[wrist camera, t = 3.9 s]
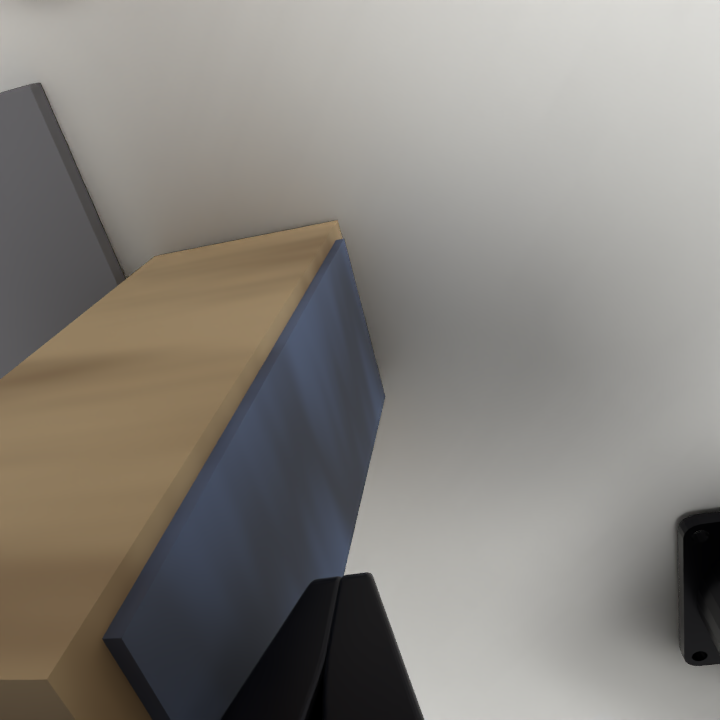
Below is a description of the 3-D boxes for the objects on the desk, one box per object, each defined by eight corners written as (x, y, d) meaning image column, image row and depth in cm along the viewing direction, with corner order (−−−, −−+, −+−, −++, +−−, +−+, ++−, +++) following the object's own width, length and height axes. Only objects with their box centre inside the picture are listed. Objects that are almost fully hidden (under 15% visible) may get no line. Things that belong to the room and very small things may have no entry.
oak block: (390, 393, 17) (264, 963, 7) (219, 414, 19) (-96, 920, 8) (345, 218, 15) (68, 679, 5) (155, 255, 17) (-380, 680, 6)
